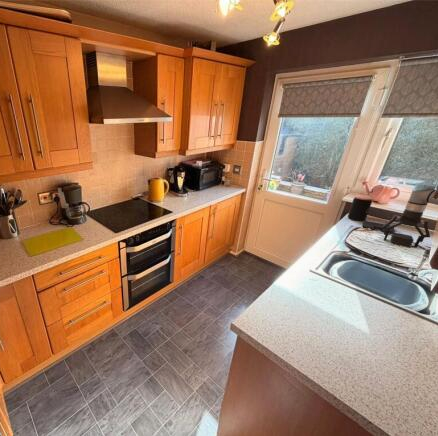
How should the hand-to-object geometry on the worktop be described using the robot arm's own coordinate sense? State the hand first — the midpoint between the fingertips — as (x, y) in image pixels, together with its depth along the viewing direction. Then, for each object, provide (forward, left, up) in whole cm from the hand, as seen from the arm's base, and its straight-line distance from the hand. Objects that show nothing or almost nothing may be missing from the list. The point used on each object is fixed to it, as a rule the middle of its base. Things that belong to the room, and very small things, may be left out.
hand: (399, 242), depth 142 cm
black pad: (+1, 0, 0) cm, 2 cm away
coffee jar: (+35, +22, 0) cm, 41 cm away
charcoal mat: (+22, +10, 0) cm, 24 cm away
